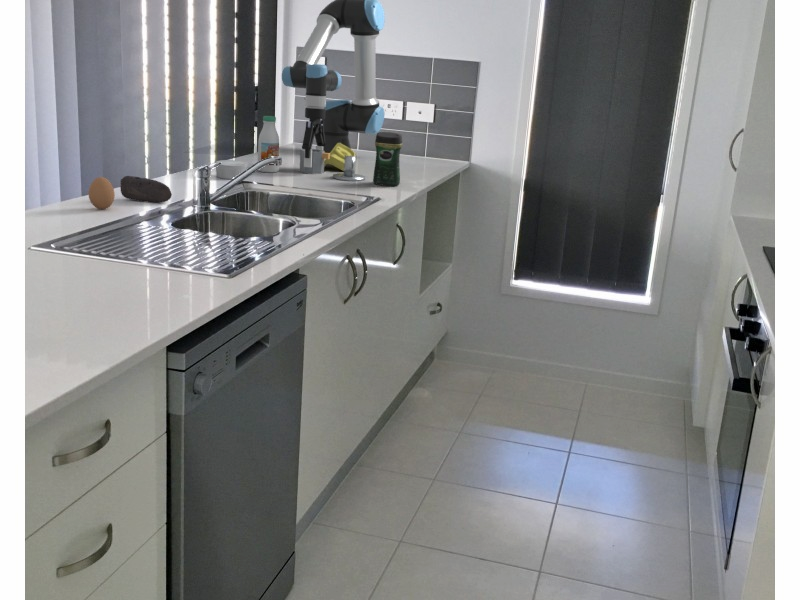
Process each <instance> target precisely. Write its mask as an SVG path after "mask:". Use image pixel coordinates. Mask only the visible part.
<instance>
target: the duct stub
mask: <svg viewBox="0 0 800 600" xmlns="http://www.w3.org/2000/svg"><path fill="white" fill-rule="evenodd" d="M356 158H357V156H345V160H344V171H343V172H341V173H340V172H339V173H333V174H332V178H333V179H334V178H335V180H338V181H343V180H344V182H345V181H346V182H363V181H365V180H366V176H365V175H363V174H357V173H356V161H357V160H356Z"/></svg>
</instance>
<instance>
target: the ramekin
mask: <svg viewBox="0 0 800 600" xmlns="http://www.w3.org/2000/svg"><path fill="white" fill-rule="evenodd" d="M218 162H222V163H221V164H220V165H219V166H218V167H216V166H215V168H216V176H217V177H218V178H220V179H222V178H223V180H231V179H232V178H233V177H235V176H236V175H238V174H239V173H241V172H242V171H244V170H245V169H246V170H247V169H248V162H246V161H243V160H236V159H235V160H234V159H222V160H217V161H215V162H214V164H215V163H218Z"/></svg>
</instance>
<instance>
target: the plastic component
mask: <svg viewBox="0 0 800 600" xmlns="http://www.w3.org/2000/svg"><path fill="white" fill-rule="evenodd" d="M345 156H355V157H357V156H356V153H355V151H354V150H352V148H351V149H350V148H348V147H346V146H345V145H343V144H341V143H337V144H336V145H335V147H334V148H333V150H332V151H331V152H330V159H324V168H325V167H326V165H329V164H330V165H332V166H333V167H335V168H337V169H339V170H340V171H343V172H344V160H345Z"/></svg>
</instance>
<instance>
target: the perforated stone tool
mask: <svg viewBox="0 0 800 600" xmlns="http://www.w3.org/2000/svg"><path fill="white" fill-rule="evenodd" d="M119 188H120V194H121V195H122V197H123V198H126V199H129V200H133V201H137V200H139V201H138V202H144V201H148V202H147V203H165V202H169V200H171V198H172V195H173V194H172V191H171V189H170V187H169V186H168V185H166V183H163V182H160V181H158V180H155V179H151V178H146V177H139V176H133V175H125V176H124V177H122V178H121V179H120V185H119Z"/></svg>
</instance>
